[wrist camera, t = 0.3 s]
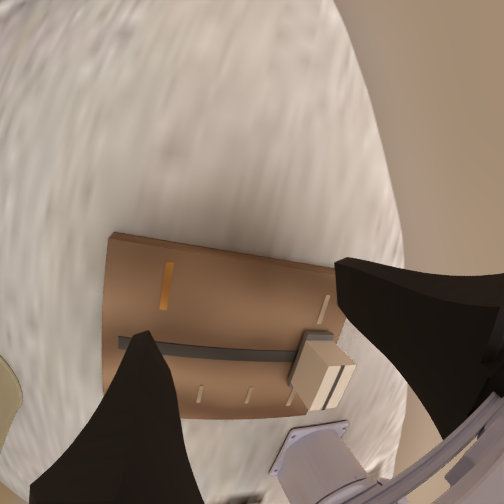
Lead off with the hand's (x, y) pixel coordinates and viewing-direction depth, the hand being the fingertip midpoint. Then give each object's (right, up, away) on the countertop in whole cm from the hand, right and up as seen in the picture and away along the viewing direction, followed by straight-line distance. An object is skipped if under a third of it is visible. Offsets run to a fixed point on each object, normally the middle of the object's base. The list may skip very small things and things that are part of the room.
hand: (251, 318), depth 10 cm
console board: (-2, -4, +12) cm, 13 cm away
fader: (+4, -6, +12) cm, 14 cm away
